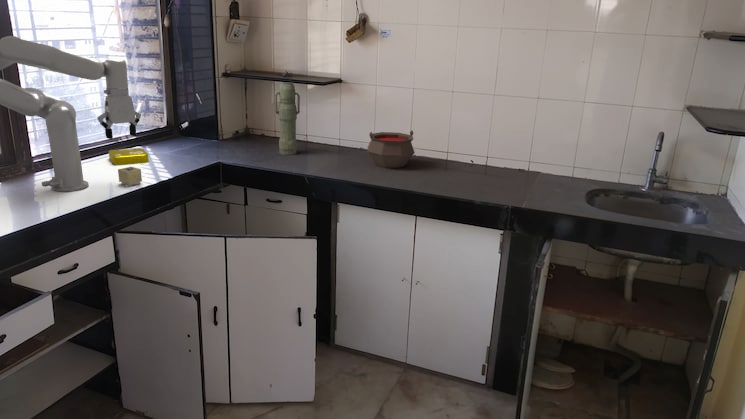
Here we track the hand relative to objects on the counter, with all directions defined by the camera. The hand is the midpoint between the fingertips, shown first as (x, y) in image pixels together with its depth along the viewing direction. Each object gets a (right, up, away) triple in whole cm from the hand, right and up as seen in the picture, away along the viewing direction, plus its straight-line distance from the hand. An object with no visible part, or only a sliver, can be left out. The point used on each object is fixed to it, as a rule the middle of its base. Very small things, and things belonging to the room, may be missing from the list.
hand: (121, 137), depth 218 cm
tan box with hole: (+1, -17, +5) cm, 18 cm away
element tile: (-15, -6, +41) cm, 44 cm away
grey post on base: (+1, -18, +5) cm, 19 cm away
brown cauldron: (+106, -7, +52) cm, 118 cm away
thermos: (+55, 0, +66) cm, 86 cm away
